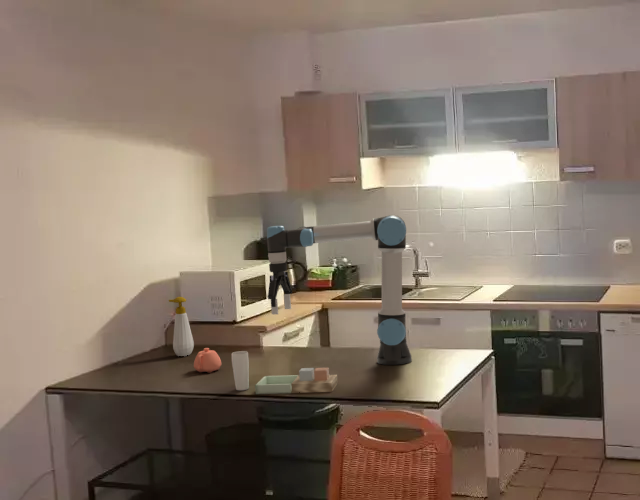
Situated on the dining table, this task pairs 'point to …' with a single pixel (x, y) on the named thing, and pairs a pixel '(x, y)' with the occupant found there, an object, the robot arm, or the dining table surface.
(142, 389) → the dining table surface
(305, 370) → the tile grey
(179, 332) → the soap bottle
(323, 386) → the board
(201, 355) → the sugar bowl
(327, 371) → the salmon pink block
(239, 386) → the drinking glass
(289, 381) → the tray
